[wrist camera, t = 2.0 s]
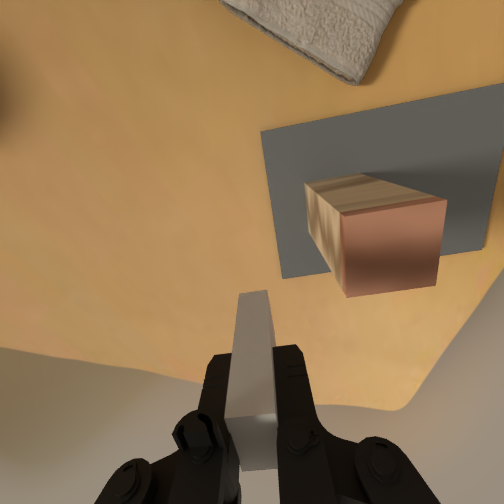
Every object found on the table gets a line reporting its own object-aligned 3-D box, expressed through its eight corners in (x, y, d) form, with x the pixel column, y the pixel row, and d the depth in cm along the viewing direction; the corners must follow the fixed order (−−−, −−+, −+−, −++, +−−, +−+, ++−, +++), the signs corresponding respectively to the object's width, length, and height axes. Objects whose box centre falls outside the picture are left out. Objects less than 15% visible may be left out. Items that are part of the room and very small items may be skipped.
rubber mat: (260, 131, 27) (260, 131, 26) (511, 81, 24) (517, 80, 24) (282, 276, 34) (282, 279, 33) (478, 247, 31) (482, 249, 31)
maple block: (304, 182, 28) (344, 216, 15) (358, 172, 27) (447, 199, 15) (308, 232, 30) (346, 297, 18) (358, 224, 30) (435, 285, 17)
